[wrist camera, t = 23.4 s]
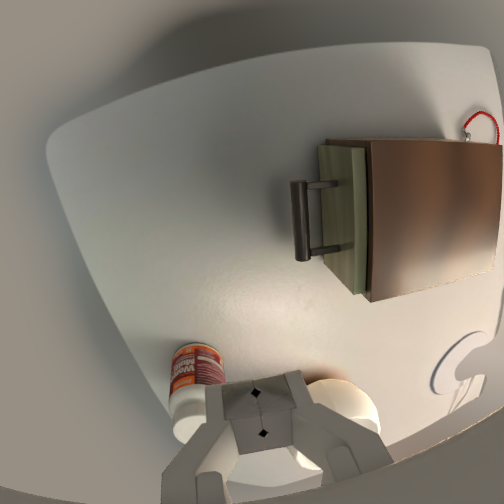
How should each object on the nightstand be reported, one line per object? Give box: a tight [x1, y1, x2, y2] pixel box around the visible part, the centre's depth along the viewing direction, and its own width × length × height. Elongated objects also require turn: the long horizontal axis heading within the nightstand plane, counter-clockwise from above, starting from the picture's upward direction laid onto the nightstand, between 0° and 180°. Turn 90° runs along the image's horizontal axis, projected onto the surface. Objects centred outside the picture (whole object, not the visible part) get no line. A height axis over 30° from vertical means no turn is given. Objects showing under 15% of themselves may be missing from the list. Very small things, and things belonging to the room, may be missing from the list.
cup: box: [287, 378, 381, 470], centre depth 38 cm, size 12×12×10 cm
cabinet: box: [326, 138, 503, 303], centre depth 30 cm, size 17×14×10 cm
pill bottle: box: [169, 343, 226, 444], centre depth 32 cm, size 6×6×11 cm
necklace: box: [464, 111, 500, 145], centre depth 32 cm, size 9×6×1 cm
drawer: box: [290, 145, 369, 295], centre depth 29 cm, size 20×12×8 cm, turn 96°
